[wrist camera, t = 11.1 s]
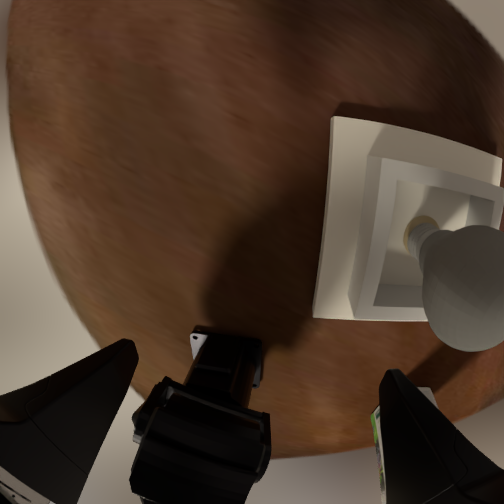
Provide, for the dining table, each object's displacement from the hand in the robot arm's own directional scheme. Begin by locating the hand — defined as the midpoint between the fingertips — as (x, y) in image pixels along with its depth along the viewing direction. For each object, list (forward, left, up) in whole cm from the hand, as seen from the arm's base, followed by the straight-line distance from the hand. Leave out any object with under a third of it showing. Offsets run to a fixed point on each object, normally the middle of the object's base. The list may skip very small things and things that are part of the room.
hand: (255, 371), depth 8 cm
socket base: (+2, -10, -12) cm, 16 cm away
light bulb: (+2, -10, -10) cm, 14 cm away
